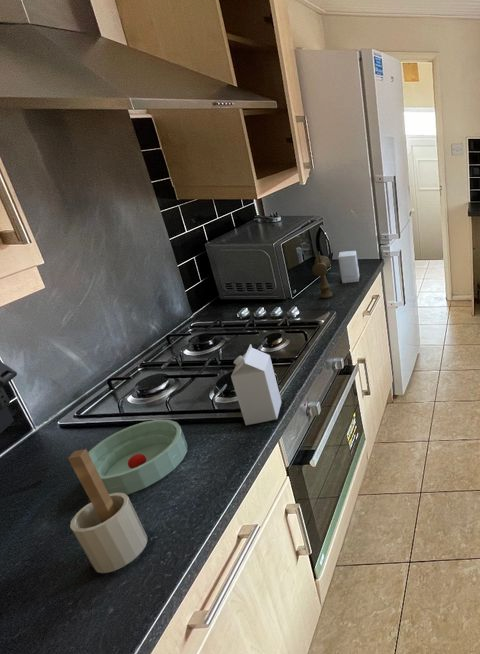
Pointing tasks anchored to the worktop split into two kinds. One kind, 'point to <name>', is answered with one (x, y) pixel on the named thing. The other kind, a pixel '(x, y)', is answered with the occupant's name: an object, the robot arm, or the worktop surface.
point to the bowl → (144, 438)
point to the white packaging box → (348, 266)
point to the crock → (110, 535)
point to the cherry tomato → (136, 460)
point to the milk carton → (256, 387)
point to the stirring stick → (92, 484)
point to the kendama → (322, 274)
